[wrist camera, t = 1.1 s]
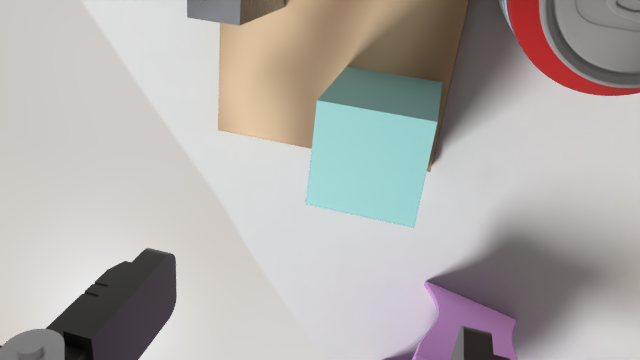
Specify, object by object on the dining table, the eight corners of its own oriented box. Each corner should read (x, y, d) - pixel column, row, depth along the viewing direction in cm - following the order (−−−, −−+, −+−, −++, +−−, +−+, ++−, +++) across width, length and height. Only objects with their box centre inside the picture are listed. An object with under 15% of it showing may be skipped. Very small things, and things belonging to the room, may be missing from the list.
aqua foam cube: (442, 82, 27) (437, 122, 21) (423, 170, 30) (414, 227, 24) (346, 66, 28) (316, 100, 22) (335, 153, 30) (305, 204, 25)
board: (481, -58, 25) (481, -58, 24) (430, 166, 30) (430, 171, 30) (228, -89, 27) (222, -89, 26) (223, 125, 32) (218, 130, 32)
